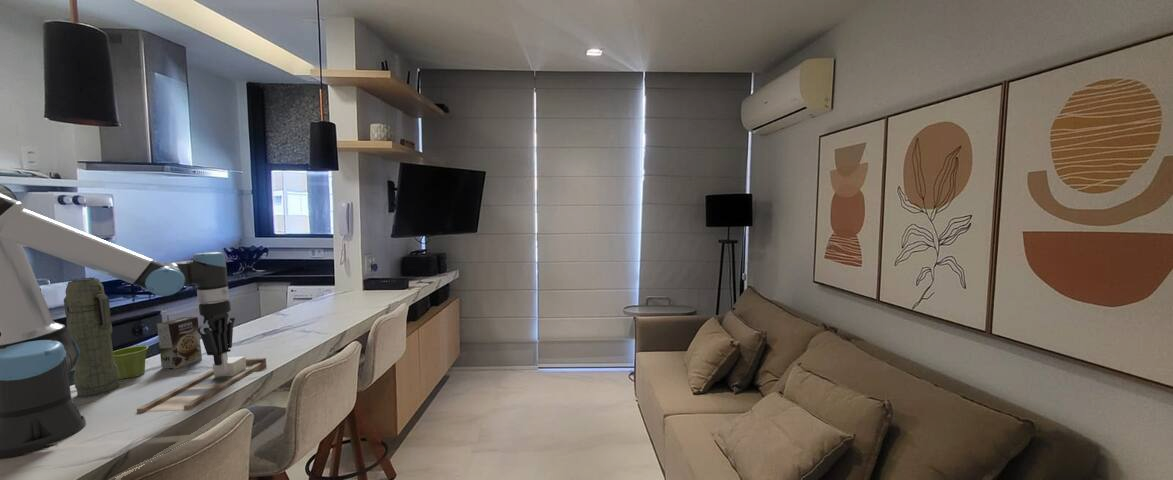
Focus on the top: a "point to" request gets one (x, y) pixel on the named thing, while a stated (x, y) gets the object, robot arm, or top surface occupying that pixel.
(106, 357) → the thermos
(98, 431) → the top surface
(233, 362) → the cream block
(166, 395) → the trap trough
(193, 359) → the coffee box
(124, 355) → the plant pot
